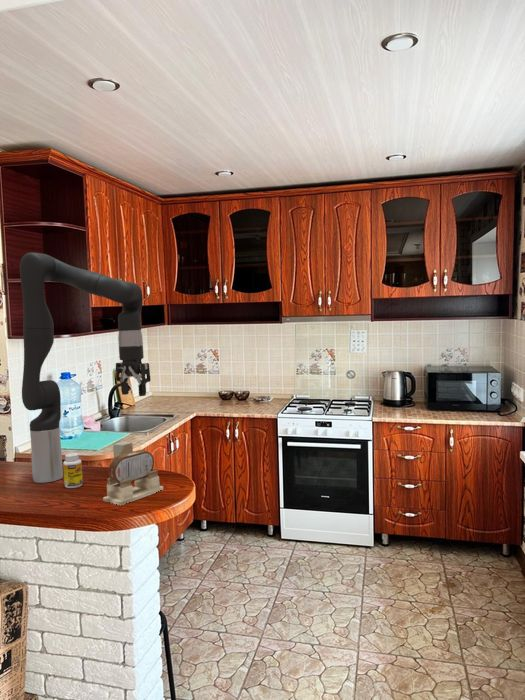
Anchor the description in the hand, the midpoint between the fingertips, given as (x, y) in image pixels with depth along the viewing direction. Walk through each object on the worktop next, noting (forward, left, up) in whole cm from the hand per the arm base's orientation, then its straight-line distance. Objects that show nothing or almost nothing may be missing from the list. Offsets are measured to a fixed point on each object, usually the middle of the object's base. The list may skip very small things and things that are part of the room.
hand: (133, 395), depth 170 cm
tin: (+10, -10, -24) cm, 28 cm away
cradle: (+10, -10, -28) cm, 31 cm away
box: (-10, +2, -28) cm, 30 cm away
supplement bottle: (-15, -14, -28) cm, 35 cm away
